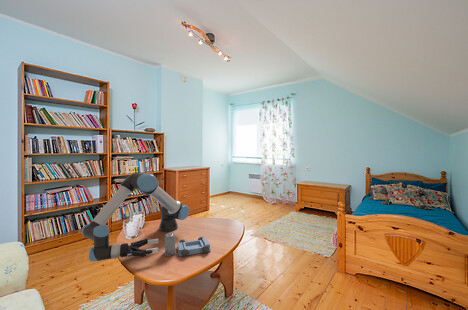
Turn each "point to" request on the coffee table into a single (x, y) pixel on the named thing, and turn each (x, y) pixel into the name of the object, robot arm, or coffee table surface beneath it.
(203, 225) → the coffee table surface
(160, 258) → the coffee table surface
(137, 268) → the coffee table surface
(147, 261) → the coffee table surface
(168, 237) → the block
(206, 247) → the chassis
